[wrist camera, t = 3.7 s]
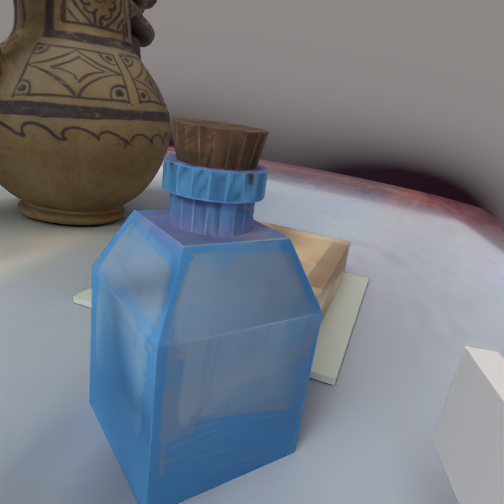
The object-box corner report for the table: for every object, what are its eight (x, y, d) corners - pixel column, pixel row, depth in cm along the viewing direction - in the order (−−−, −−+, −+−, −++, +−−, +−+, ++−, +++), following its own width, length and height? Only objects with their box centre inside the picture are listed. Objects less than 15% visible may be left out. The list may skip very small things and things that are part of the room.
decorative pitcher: (42, 265, 31) (33, -178, 23) (-103, 210, 38) (-149, -147, 30) (206, 216, 50) (232, -39, 42) (89, 184, 57) (92, -40, 49)
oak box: (119, 293, 28) (121, 245, 27) (204, 245, 39) (208, 209, 38) (307, 350, 24) (318, 297, 23) (342, 279, 35) (350, 241, 34)
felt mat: (73, 302, 27) (73, 296, 27) (194, 239, 41) (194, 235, 41) (334, 385, 22) (335, 378, 22) (367, 282, 37) (368, 278, 36)
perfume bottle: (216, 368, 22) (246, 122, 18) (294, 452, 18) (356, 145, 14) (89, 402, 19) (94, 106, 15) (145, 518, 14) (173, 130, 10)
